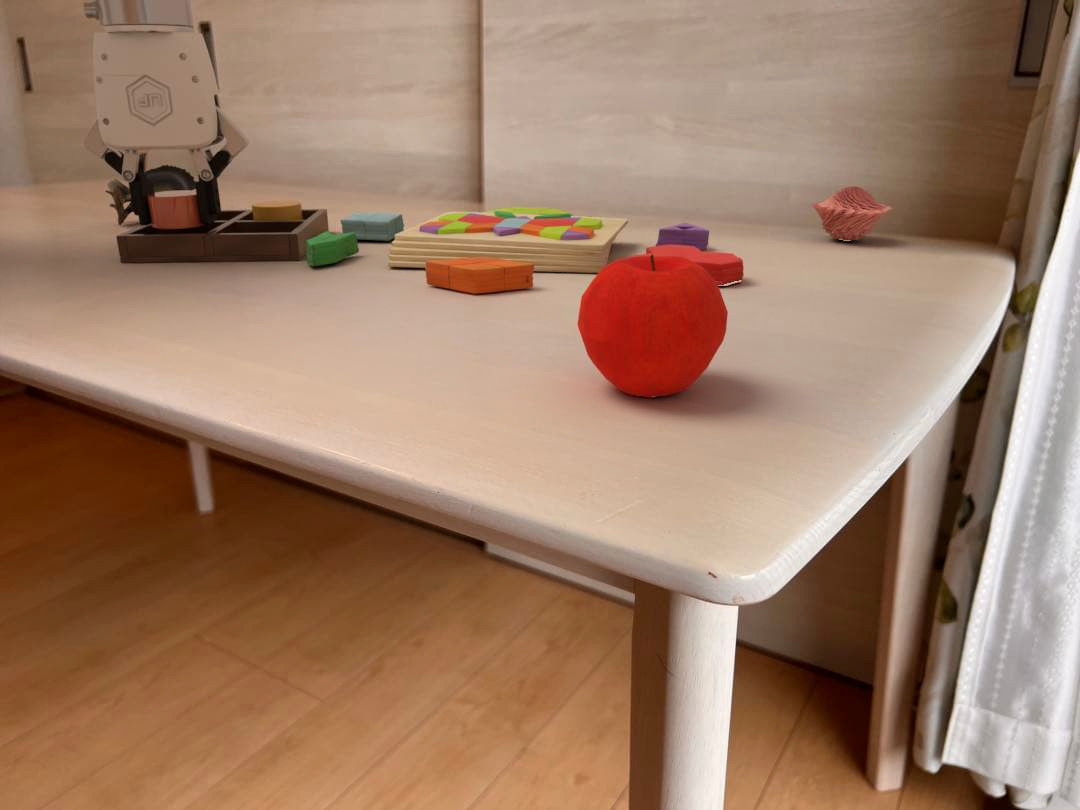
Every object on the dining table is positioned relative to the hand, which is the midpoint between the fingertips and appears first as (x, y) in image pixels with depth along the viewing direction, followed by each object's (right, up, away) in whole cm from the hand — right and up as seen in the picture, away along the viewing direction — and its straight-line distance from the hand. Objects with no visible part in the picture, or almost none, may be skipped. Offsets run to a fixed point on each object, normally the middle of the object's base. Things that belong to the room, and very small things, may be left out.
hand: (179, 220), depth 83 cm
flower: (+67, -1, +7) cm, 67 cm away
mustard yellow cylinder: (+7, +1, +9) cm, 11 cm away
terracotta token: (0, 0, 0) cm, 0 cm away
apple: (+41, -17, -35) cm, 57 cm away
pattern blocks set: (+32, -3, +1) cm, 33 cm away
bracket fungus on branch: (-11, +4, +20) cm, 23 cm away
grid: (+3, -1, +5) cm, 6 cm away
